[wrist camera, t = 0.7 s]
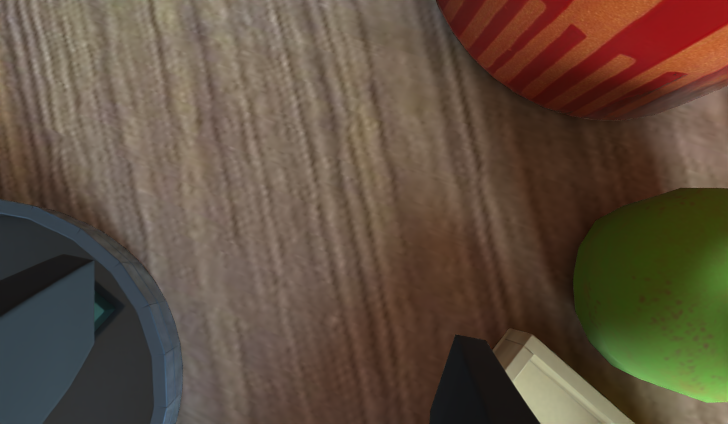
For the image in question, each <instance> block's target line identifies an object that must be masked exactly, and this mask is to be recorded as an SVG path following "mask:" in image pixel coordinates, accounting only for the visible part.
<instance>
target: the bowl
mask: <svg viewBox="0 0 728 424" xmlns="http://www.w3.org/2000/svg"><path fill="white" fill-rule="evenodd" d="M62 254H67V255H72V256H76V257H81V258H86V259H91V260H94V290H95V291H96V292H97V293H98V294H99V295H101V296H102V297H103V298H104V299H105V300H107V301H108V302H109V303H110V304H111V305H112V306H114V307H115V310H114V311H113V312H112V313H111V314H110V316H109V317H108V318H107V319H106V320H105V321H104V322H103V323H102V324H101V325H100V326H99V327H98V329H97V330H96V331H95V332H94V345H93V347H92V349H91V351H90V352H89V354H88V356H87V358H86V360H85V361H84V363H83V365H82V367H81V369H80V370H79V372H78V374H77V375H76V377H75V379H74V380H73V382H72V384H71V386H70V387H69V389H68V390H67V391H66V393H65V394H64V395H63V397H62V398H61V400H60V401H59V402H58V404H57V405H56V406H55V407H54V409H53V410H52V411H51V413H50V414H49V415H48V417H47V418H46V419H45V421H44V422H43V423H42V424H176V421H177V417H178V414H179V409H180V402H181V395H182V386H183V363H182V354H181V346H180V340H179V337H178V333H177V329H176V325H175V321H174V319H173V316H172V314H171V311H170V309H169V306H168V304H167V301H166V300H165V298H164V296H163V294H162V293H161V291H160V289H159V287H158V286H157V284H156V282H155V281H154V279H153V278H152V277H151V276H150V274H149V273H148V272H147V270H146V269H145V268H144V266H143V265H142V264H141V263H140V262H139V261H138V260H137V259H136V258H135V257H134V256H133V255H132V254H131V253H130V252H129V251H128V250H127V249H126V248H125V247H123V246H122V245H120V244H119V243H118V242H116V241H115V240H114V239H112V238H111V237H110V236H108V235H107V234H105V233H104V232H102V231H100V230H98V229H96V228H94V227H93V226H91V225H89V224H87V223H85V222H82V221H80V220H77V219H75V218H73V217H71V216H69V215H67V214H64V213H61V212H57V211H54V210H50V209H46V208H42V207H38V206H34V205H29V204H24V203H19V202H13V201H8V200H3V199H0V280H2V279H4V278H7V277H9V276H11V275H14V274H16V273H18V272H20V271H23V270H25V269H27V268H30V267H32V266H34V265H37V264H39V263H41V262H44V261H46V260H49V259H51V258H54V257H56V256H59V255H62Z"/></svg>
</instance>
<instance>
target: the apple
mask: <svg viewBox="0 0 728 424" xmlns="http://www.w3.org/2000/svg"><path fill="white" fill-rule="evenodd" d="M573 287H574V299H575V312H576V314H577V316H578V318H579V321H580V323H581V325H582V327H583V329H584V332H585V334H586V336H587V338H588V340H589V342H590V343H591V344H592V345H593V346H594V347H595V348H596V349H597V350H598V352H599V353H600V354H601V355H602V356H603V357H604V358H605V359H606V360H607V361H608V362H609V363H610V364H611V365H612V366H614V367H616V368H618V369H620V370H622V371H624V372H626V373H628V374H630V375H632V376H635V377H637V378H639V379H641V380H644V381H647V382H650V383H652V384H655V385H658V386H661V387H664V388H666V389H669V390H672V391H675V392H678V393H681V394H684V395H687V396H689V397H692V398H695V399H698V400H701V401H704V402H728V189H727V188H679V189H676V190H673V191H670V192H667V193H664V194H661V195H658V196H655V197H652V198H648V199H645V200H641V201H638V202H634V203H631V204H628V205H624V206H622V207H620V208H618V209H616V210H615V211H613V212H611V213H609V214H607V215H605V216H603V217H601V218H600V219H598V220H596V221H595V222H594V224H593V226H592V227H591V229H590V230H589V232H588V234H587V235H586V237H585V238H584V240H583V241H582V243H581V245H580V246H579V248H578V254H577V259H576V265H575V270H574V276H573Z"/></svg>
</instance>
